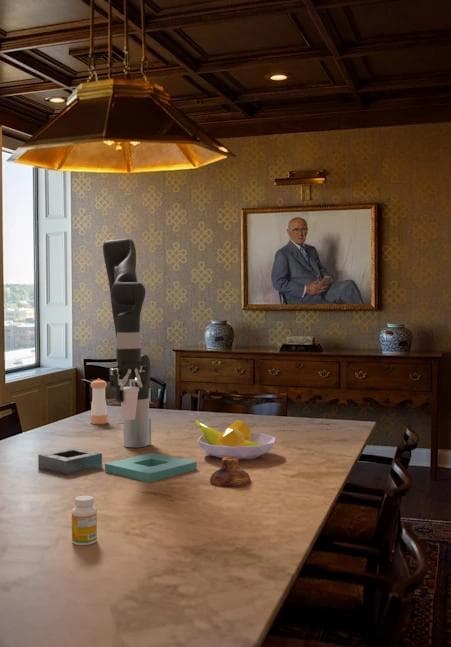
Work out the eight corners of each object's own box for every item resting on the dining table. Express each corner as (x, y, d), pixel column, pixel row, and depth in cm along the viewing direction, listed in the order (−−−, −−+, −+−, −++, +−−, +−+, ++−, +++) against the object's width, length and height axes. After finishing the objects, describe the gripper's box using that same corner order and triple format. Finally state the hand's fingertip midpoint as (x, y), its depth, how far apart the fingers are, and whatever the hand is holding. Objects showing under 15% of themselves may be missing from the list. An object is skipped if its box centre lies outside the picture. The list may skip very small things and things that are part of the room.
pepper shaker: (106, 424, 302) (105, 379, 301) (89, 424, 302) (88, 379, 301) (109, 421, 309) (108, 377, 309) (92, 421, 309) (92, 377, 309)
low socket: (152, 460, 234) (152, 452, 234) (196, 469, 221) (196, 461, 221) (105, 471, 218) (104, 463, 218) (149, 482, 205) (149, 473, 205)
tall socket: (74, 461, 233) (74, 447, 233) (102, 467, 224) (101, 453, 224) (38, 468, 222) (38, 454, 222) (65, 475, 213) (65, 461, 213)
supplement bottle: (73, 538, 158) (73, 494, 157) (98, 537, 158) (97, 494, 158) (70, 546, 152) (70, 501, 152) (95, 545, 153) (95, 500, 152)
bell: (203, 480, 209) (203, 455, 208) (240, 476, 213) (240, 452, 213) (219, 490, 198) (219, 464, 198) (257, 485, 203) (257, 460, 202)
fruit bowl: (291, 455, 241) (291, 422, 241) (238, 469, 221) (238, 433, 221) (230, 443, 260) (230, 413, 260) (176, 456, 240) (176, 422, 240)
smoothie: (135, 420, 216) (134, 375, 215) (115, 420, 217) (115, 374, 217) (142, 417, 222) (142, 373, 222) (123, 416, 224) (122, 372, 223)
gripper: (138, 345, 227) (138, 397, 227) (102, 347, 216) (102, 402, 217) (154, 346, 222) (154, 399, 222) (118, 348, 211) (118, 404, 212)
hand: (128, 400), depth 220 cm, fingers closed on smoothie, 6 cm apart
